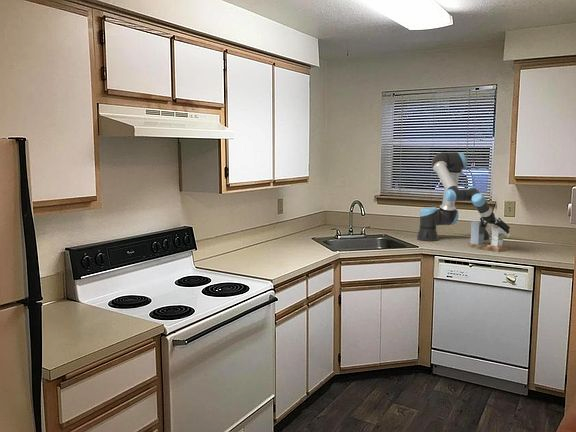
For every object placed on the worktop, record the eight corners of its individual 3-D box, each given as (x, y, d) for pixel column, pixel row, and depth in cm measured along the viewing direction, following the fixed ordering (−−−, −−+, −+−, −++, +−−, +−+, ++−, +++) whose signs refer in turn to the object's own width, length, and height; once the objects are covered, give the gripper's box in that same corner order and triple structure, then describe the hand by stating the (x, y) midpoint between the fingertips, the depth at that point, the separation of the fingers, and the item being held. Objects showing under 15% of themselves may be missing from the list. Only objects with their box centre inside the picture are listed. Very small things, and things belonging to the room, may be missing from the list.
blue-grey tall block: (470, 243, 348) (471, 221, 346) (476, 242, 351) (477, 220, 349) (479, 244, 342) (480, 222, 340) (484, 243, 345) (485, 222, 343)
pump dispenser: (486, 242, 362) (488, 221, 360) (491, 245, 352) (492, 223, 350) (472, 242, 363) (473, 221, 361) (475, 244, 353) (477, 223, 351)
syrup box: (495, 245, 338) (496, 224, 336) (503, 247, 333) (504, 225, 331) (489, 246, 335) (491, 224, 334) (497, 248, 330) (498, 226, 329)
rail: (468, 246, 347) (468, 241, 347) (476, 244, 352) (476, 240, 352) (498, 252, 328) (498, 247, 328) (507, 250, 333) (507, 245, 333)
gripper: (467, 215, 334) (480, 236, 344) (501, 220, 313) (514, 241, 323) (472, 207, 336) (485, 227, 346) (507, 210, 315) (519, 232, 325)
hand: (499, 234), depth 335 cm, fingers open, 13 cm apart
